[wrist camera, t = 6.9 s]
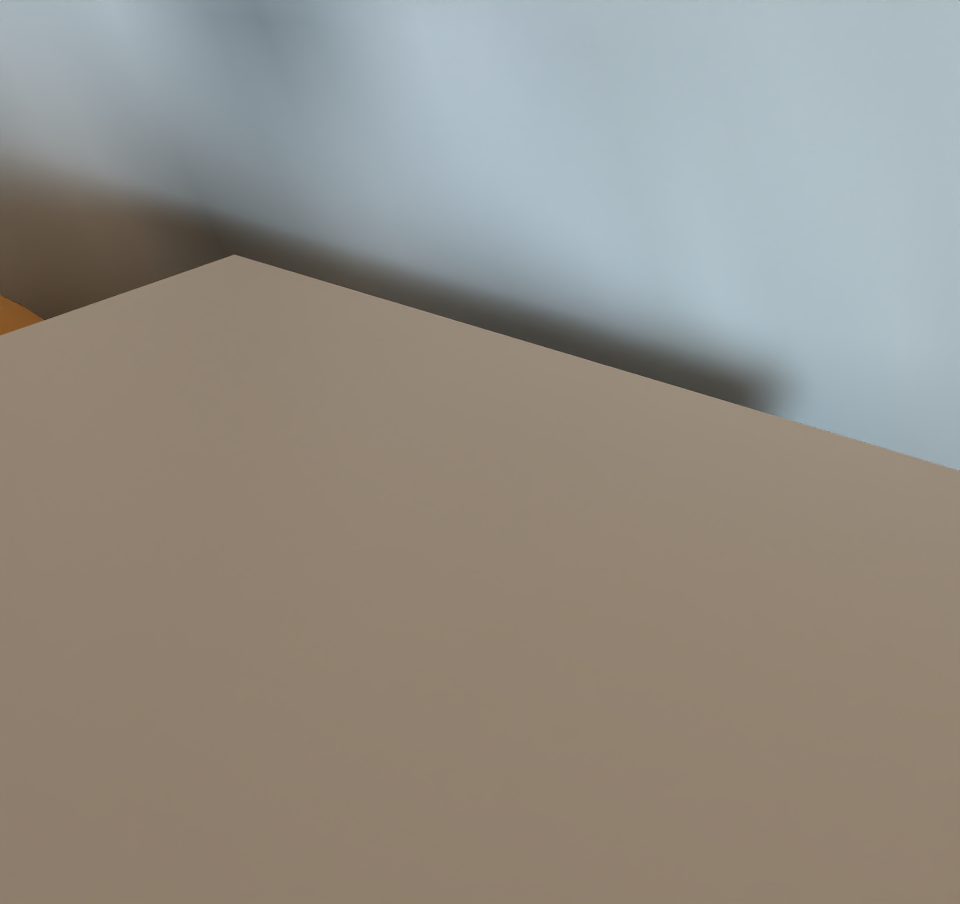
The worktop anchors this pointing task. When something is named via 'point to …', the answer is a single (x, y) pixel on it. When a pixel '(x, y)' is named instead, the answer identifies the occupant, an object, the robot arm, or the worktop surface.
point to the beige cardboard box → (452, 621)
